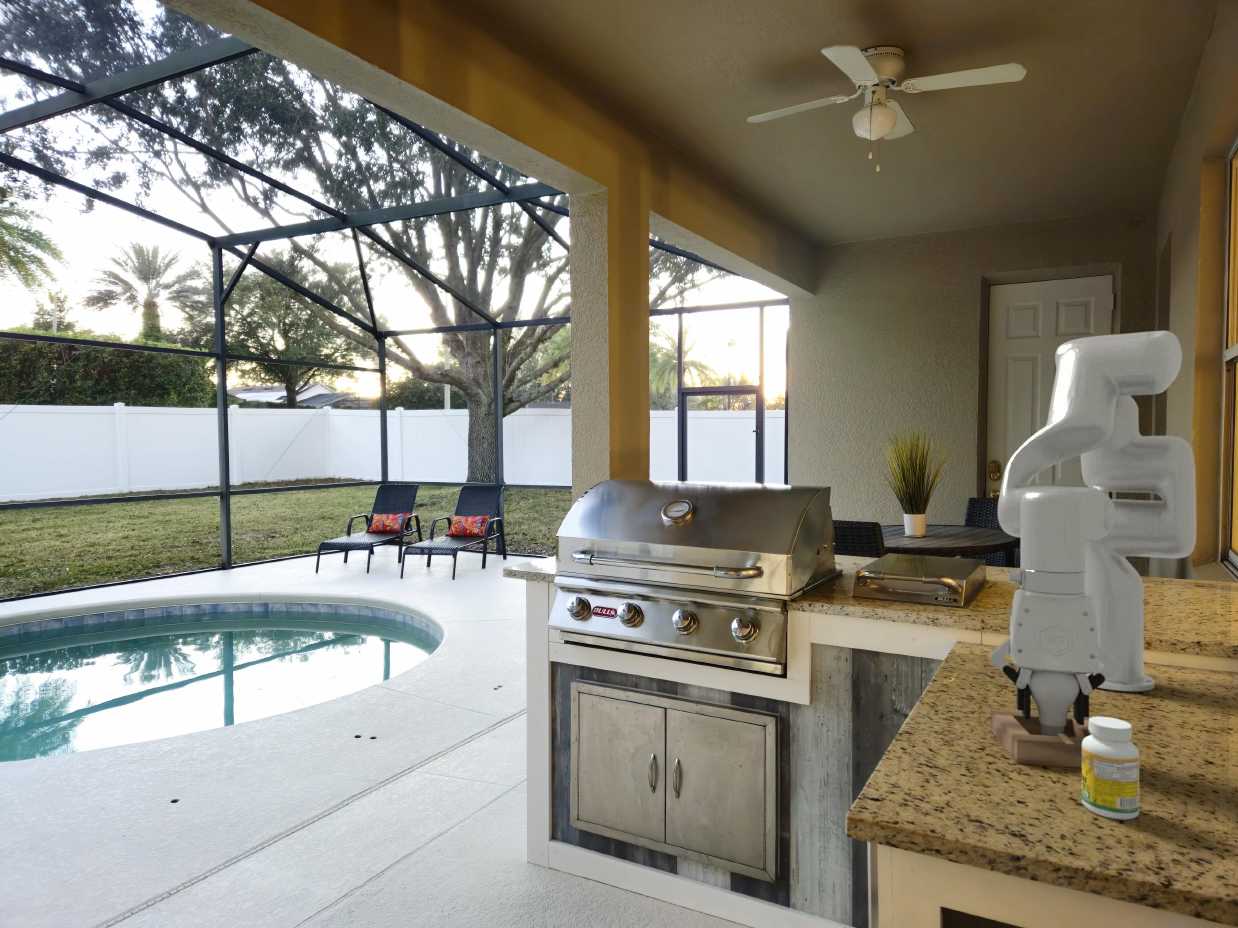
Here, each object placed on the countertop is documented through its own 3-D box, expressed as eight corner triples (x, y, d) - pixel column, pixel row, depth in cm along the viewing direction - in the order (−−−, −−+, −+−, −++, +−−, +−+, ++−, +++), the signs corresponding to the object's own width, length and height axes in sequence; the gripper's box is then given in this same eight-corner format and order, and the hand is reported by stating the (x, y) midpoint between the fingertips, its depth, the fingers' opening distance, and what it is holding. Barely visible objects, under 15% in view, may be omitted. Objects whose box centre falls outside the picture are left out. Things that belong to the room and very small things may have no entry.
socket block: (990, 730, 109) (990, 708, 109) (1087, 736, 107) (1087, 713, 107) (1018, 764, 97) (1018, 739, 97) (1128, 772, 94) (1128, 746, 94)
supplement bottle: (1135, 825, 81) (1136, 734, 81) (1077, 810, 84) (1077, 723, 84) (1142, 807, 85) (1142, 721, 85) (1086, 794, 88) (1086, 710, 88)
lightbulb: (1083, 755, 98) (1084, 669, 98) (1029, 748, 100) (1030, 664, 100) (1074, 739, 104) (1075, 658, 104) (1023, 732, 106) (1024, 653, 106)
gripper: (983, 583, 102) (983, 720, 102) (1135, 591, 95) (1135, 736, 96) (978, 575, 109) (978, 703, 109) (1120, 582, 102) (1120, 717, 103)
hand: (1052, 717), depth 102 cm, fingers closed on lightbulb, 5 cm apart
